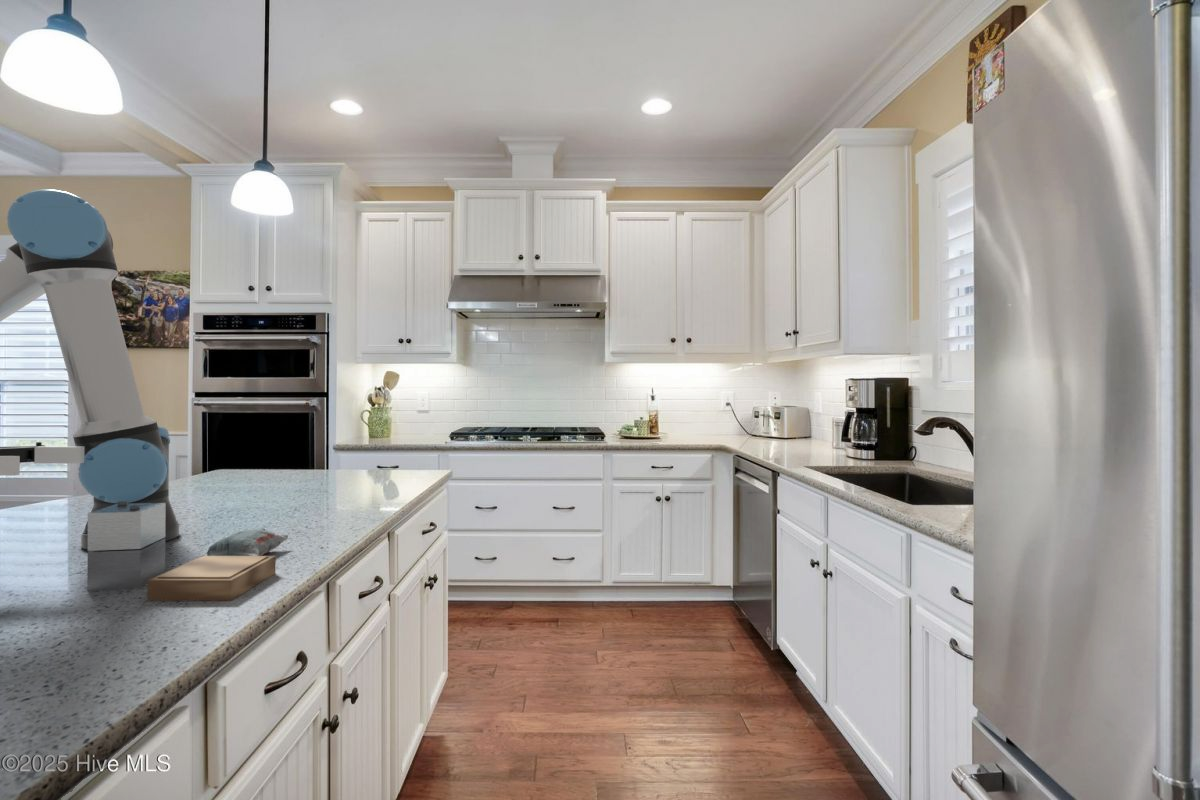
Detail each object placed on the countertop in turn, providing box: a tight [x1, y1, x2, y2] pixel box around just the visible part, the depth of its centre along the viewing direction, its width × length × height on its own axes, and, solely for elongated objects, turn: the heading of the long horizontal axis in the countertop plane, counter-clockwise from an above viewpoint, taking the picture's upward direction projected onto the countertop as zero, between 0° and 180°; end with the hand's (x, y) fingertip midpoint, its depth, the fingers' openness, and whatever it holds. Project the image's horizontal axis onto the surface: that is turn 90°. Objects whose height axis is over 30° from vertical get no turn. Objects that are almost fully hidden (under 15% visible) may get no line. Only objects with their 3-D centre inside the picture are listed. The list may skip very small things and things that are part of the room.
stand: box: [146, 555, 277, 602], centre depth 87 cm, size 12×12×3 cm
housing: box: [87, 501, 166, 592], centre depth 88 cm, size 7×7×13 cm
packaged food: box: [206, 528, 289, 556], centre depth 102 cm, size 9×12×5 cm
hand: (52, 459), depth 85 cm, fingers open, 12 cm apart
